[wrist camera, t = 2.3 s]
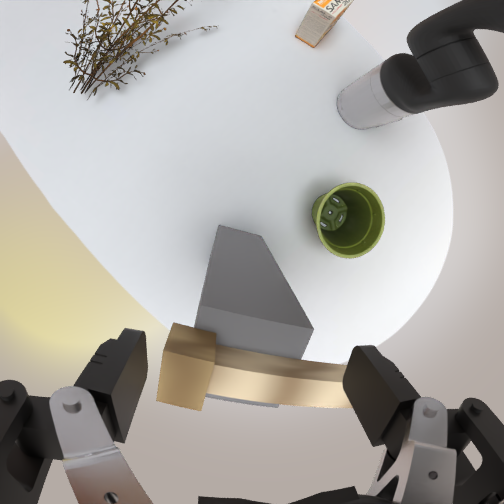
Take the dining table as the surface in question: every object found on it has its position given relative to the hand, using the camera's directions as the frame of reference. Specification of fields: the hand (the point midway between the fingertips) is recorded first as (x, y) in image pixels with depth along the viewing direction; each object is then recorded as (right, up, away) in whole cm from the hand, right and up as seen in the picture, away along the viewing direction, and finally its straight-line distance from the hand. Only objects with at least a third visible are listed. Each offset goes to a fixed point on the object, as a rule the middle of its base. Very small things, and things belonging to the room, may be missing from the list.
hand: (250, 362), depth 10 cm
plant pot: (+15, +12, +42) cm, 46 cm away
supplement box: (+13, +49, +32) cm, 60 cm away
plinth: (-3, +4, +42) cm, 43 cm away
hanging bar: (+3, -5, +10) cm, 11 cm away
